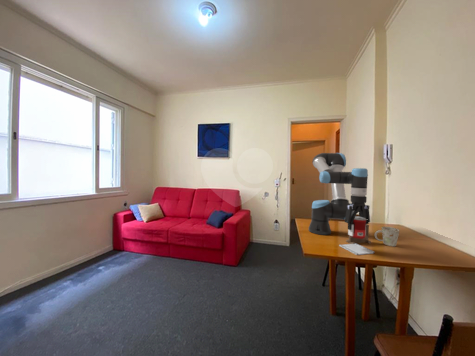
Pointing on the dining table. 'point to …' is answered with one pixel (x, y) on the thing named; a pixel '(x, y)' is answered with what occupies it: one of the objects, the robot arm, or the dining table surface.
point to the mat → (357, 249)
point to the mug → (388, 235)
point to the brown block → (356, 240)
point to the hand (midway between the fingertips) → (356, 234)
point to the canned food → (359, 227)
